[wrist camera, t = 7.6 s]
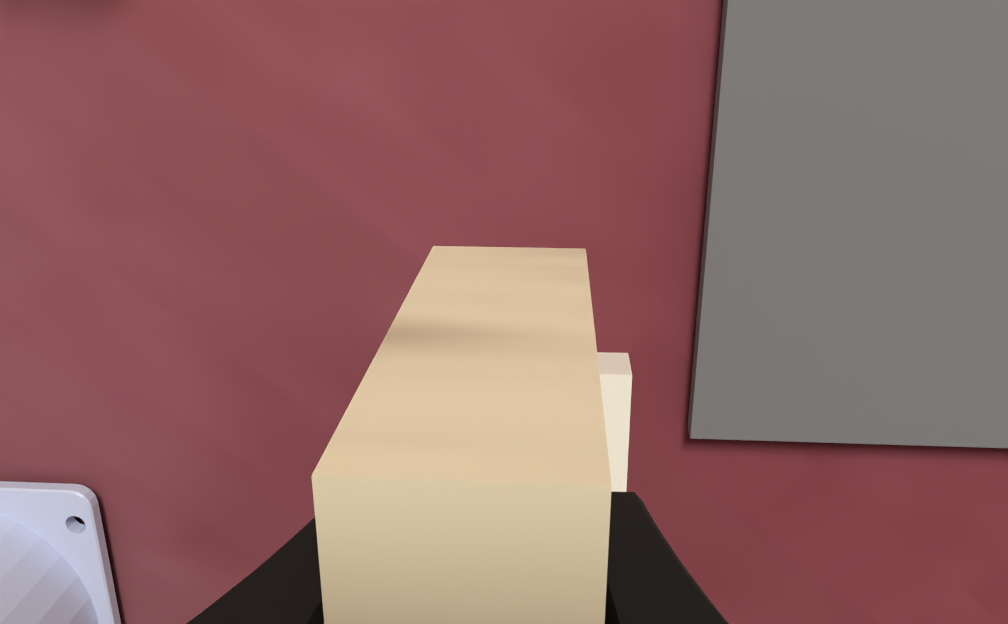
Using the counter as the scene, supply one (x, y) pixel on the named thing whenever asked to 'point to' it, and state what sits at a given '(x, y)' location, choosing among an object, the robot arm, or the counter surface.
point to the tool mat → (856, 226)
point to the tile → (616, 413)
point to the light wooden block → (473, 453)
